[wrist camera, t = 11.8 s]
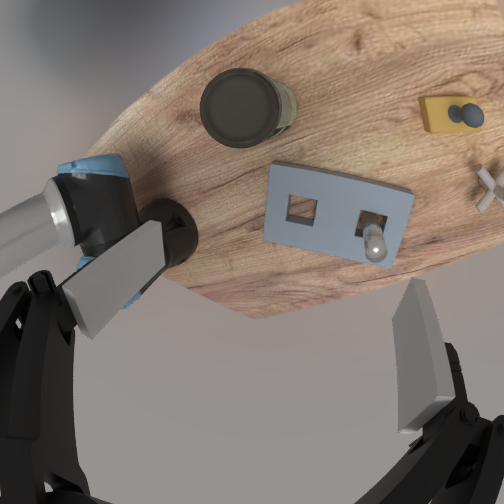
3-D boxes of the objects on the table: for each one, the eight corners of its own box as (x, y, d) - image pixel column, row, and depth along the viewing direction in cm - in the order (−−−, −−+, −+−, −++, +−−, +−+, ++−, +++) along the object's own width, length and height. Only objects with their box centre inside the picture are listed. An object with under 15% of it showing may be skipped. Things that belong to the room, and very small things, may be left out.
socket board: (266, 233, 52) (262, 240, 50) (274, 160, 45) (270, 163, 42) (389, 260, 47) (391, 269, 44) (410, 190, 40) (414, 195, 37)
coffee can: (276, 149, 44) (251, 164, 32) (227, 117, 43) (186, 122, 32) (310, 101, 38) (298, 95, 26) (258, 69, 38) (225, 54, 26)
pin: (358, 226, 46) (362, 260, 36) (363, 209, 44) (368, 239, 34) (375, 230, 45) (383, 264, 35) (380, 213, 43) (390, 244, 33)
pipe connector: (481, 217, 36) (504, 241, 28) (451, 181, 36) (474, 200, 28) (509, 180, 31) (537, 197, 22) (480, 141, 30) (509, 151, 22)
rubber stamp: (467, 97, 28) (501, 96, 18) (472, 129, 30) (508, 138, 20) (417, 97, 32) (443, 94, 22) (424, 131, 34) (451, 139, 24)
